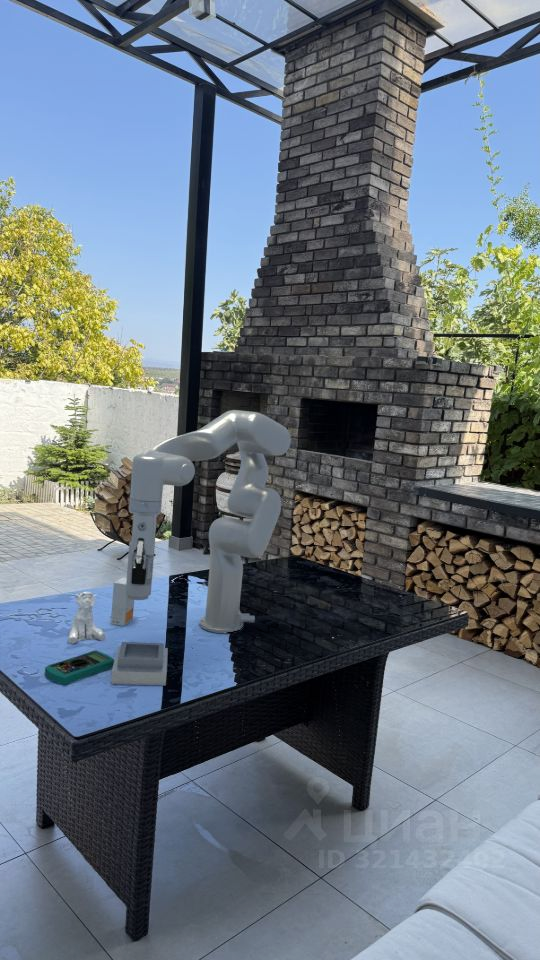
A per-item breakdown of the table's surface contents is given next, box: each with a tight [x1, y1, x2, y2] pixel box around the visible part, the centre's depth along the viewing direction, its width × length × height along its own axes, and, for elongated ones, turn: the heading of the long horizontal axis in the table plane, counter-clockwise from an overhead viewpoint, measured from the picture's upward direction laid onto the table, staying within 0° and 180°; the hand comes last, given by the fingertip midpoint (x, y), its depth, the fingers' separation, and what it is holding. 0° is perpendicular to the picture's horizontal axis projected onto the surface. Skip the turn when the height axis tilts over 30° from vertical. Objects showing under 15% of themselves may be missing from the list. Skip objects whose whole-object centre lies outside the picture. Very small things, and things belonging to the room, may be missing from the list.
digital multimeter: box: [44, 649, 115, 686], centre depth 145 cm, size 7×15×3 cm, turn 144°
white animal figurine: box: [67, 590, 106, 645], centre depth 164 cm, size 10×9×12 cm
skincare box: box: [110, 577, 135, 627], centre depth 177 cm, size 6×4×12 cm
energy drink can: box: [126, 538, 156, 601], centre depth 152 cm, size 6×6×15 cm
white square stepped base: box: [110, 641, 169, 686], centre depth 147 cm, size 12×14×5 cm
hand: (139, 579), depth 152 cm, fingers closed on energy drink can, 6 cm apart
